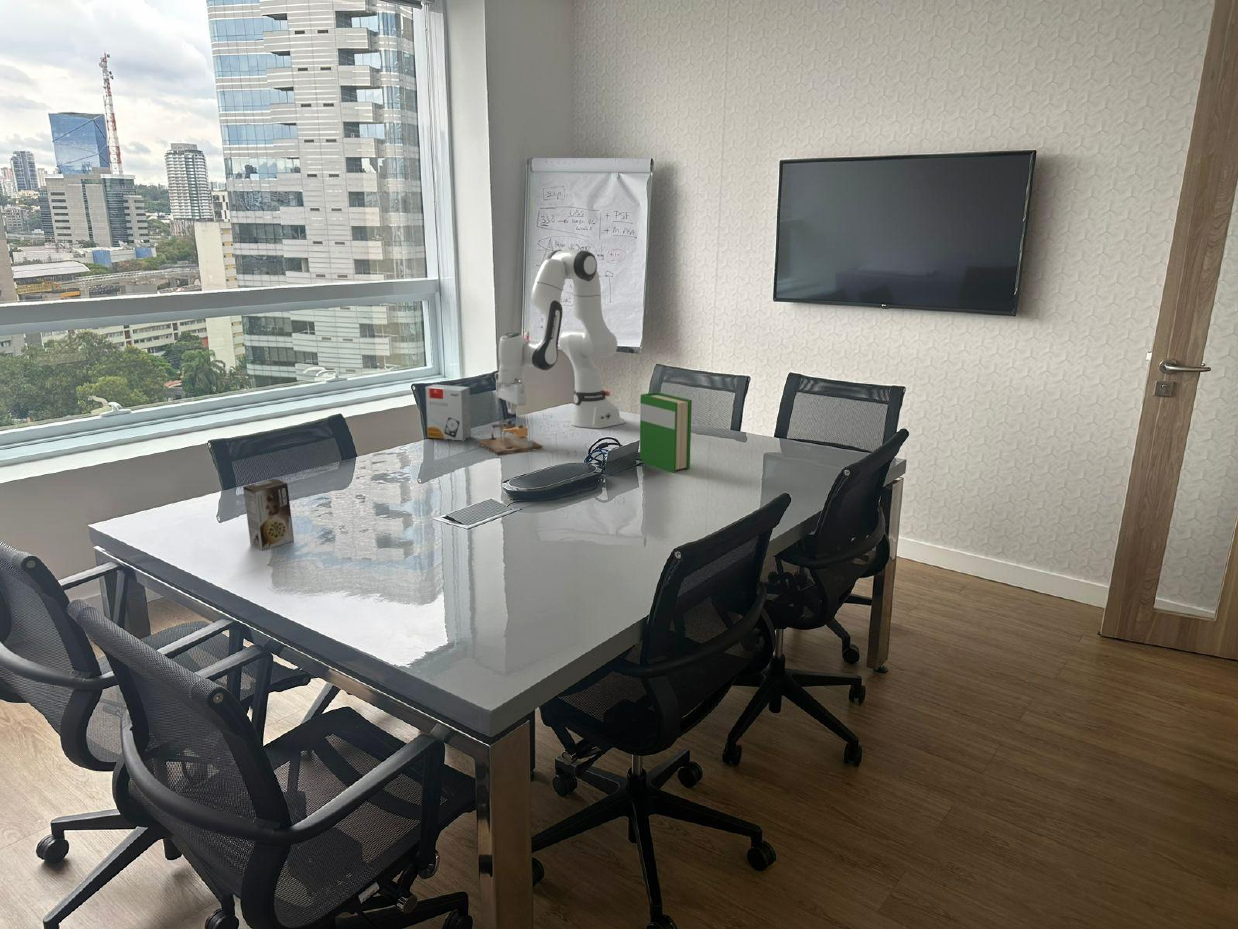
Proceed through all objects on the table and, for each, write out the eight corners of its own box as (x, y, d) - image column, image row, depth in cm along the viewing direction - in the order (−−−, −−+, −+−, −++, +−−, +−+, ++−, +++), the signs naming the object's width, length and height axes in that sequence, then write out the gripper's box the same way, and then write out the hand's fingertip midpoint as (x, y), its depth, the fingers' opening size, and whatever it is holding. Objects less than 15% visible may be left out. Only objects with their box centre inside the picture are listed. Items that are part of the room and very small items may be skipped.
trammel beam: (513, 435, 334) (512, 419, 332) (534, 446, 318) (533, 429, 316) (490, 438, 330) (489, 421, 328) (510, 449, 314) (510, 432, 312)
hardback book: (689, 469, 294) (691, 400, 288) (673, 473, 290) (675, 402, 283) (655, 458, 308) (656, 391, 301) (639, 461, 303) (640, 394, 297)
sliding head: (523, 439, 326) (523, 423, 324) (527, 441, 323) (527, 425, 321) (500, 442, 321) (500, 426, 319) (504, 444, 318) (503, 428, 316)
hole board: (520, 437, 336) (520, 434, 336) (542, 448, 320) (542, 445, 319) (476, 442, 327) (476, 439, 327) (497, 455, 311) (496, 451, 310)
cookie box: (281, 535, 231) (275, 477, 226) (294, 541, 227) (288, 482, 222) (249, 545, 224) (242, 485, 220) (262, 551, 220) (255, 490, 216)
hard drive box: (426, 438, 334) (423, 387, 328) (436, 433, 341) (433, 384, 336) (463, 441, 330) (460, 389, 324) (472, 436, 337) (470, 386, 331)
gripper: (530, 380, 316) (530, 417, 319) (508, 372, 333) (508, 408, 336) (514, 381, 312) (515, 419, 316) (492, 373, 329) (493, 409, 333)
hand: (511, 413), depth 326 cm, fingers closed
